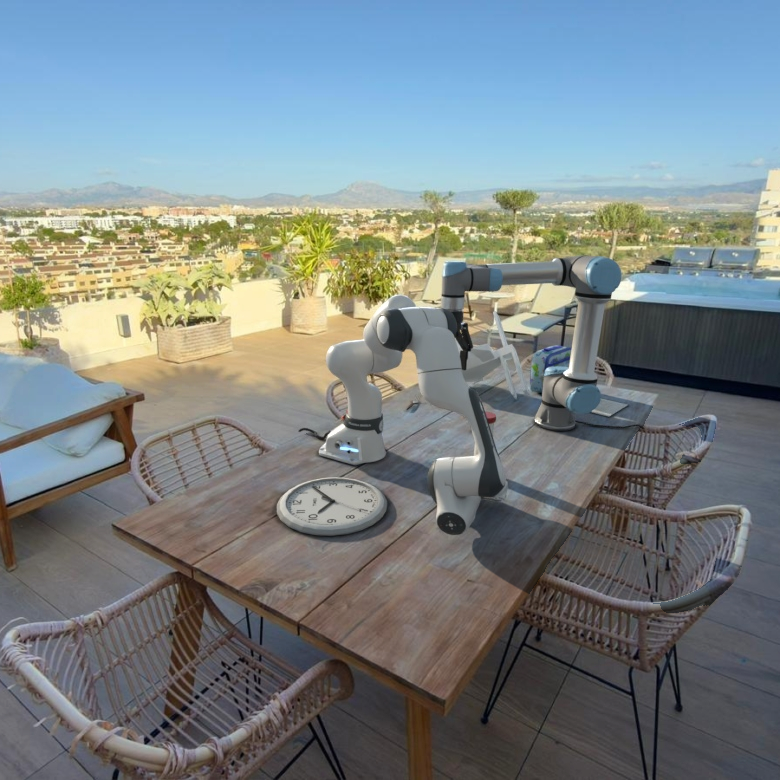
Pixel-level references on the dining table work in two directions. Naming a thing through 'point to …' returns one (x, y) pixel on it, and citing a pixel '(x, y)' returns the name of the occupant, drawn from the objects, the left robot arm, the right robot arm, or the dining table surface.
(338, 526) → the wall clock
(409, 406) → the fork
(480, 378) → the white plastic object
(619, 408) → the invitation card
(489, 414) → the lid
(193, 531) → the dining table surface
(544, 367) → the lunch box
